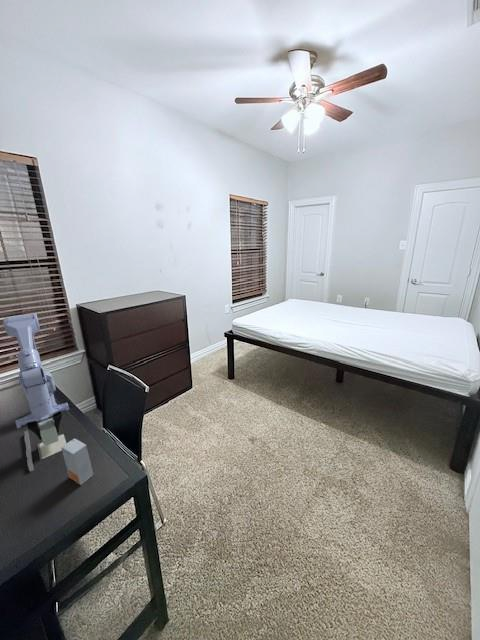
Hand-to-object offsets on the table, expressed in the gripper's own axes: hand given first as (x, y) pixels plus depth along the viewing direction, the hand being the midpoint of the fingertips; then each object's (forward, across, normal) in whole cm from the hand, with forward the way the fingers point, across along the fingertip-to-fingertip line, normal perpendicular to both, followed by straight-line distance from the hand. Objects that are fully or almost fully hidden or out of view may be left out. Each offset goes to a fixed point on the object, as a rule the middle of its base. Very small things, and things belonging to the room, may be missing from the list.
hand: (49, 434), depth 92 cm
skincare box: (+6, +5, -21) cm, 22 cm away
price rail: (+5, -6, +3) cm, 9 cm away
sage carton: (+2, 0, 0) cm, 2 cm away
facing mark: (+5, 0, 0) cm, 5 cm away
